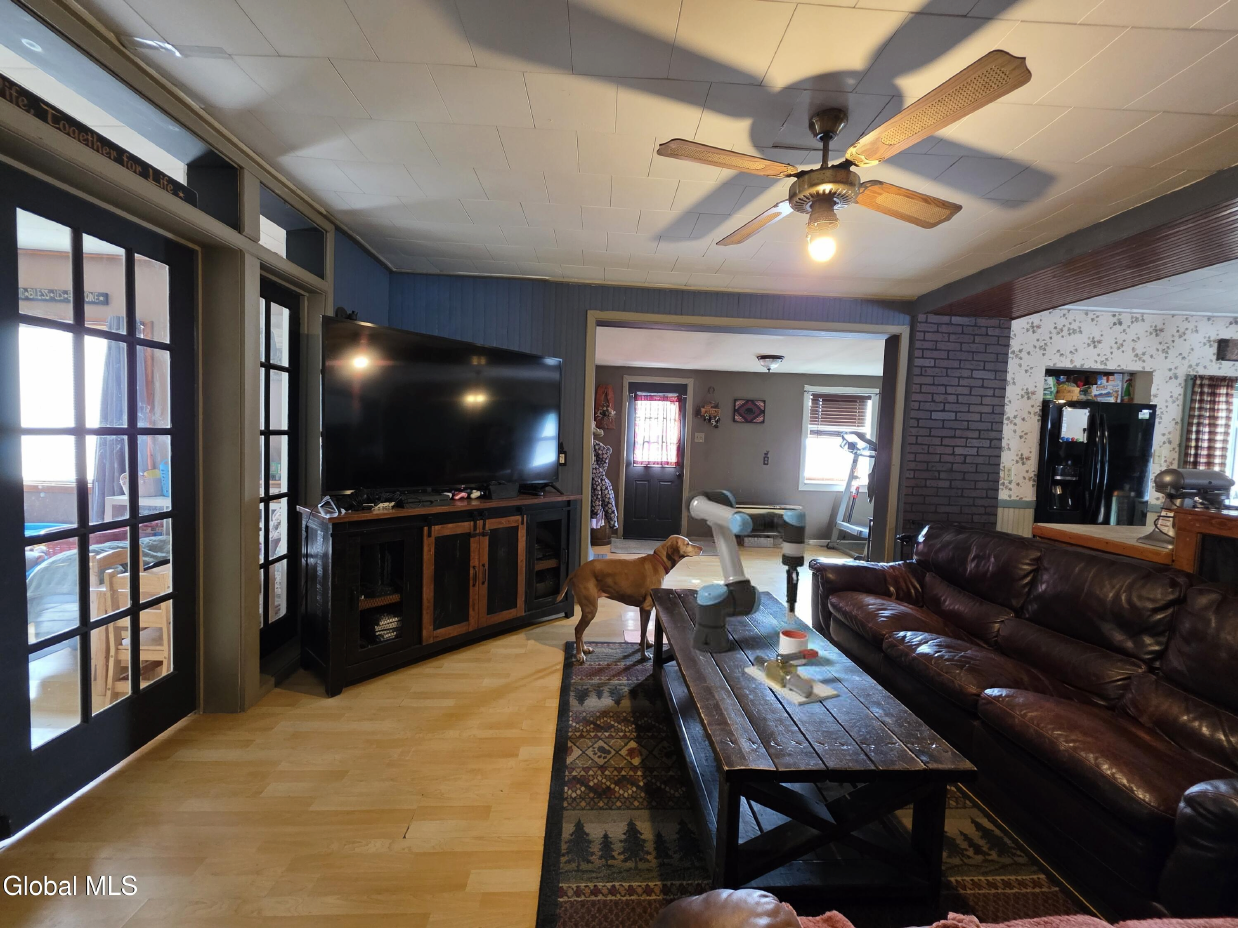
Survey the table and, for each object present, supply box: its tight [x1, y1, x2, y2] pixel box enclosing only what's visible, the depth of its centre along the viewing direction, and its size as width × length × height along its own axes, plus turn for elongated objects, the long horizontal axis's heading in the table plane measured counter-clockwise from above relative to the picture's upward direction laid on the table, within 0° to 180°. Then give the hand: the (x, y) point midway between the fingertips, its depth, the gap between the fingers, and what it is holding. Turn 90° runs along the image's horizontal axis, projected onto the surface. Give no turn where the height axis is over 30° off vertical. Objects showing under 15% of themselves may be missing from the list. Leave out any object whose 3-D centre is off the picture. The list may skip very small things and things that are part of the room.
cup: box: [778, 629, 809, 666], centre depth 197 cm, size 10×10×10 cm
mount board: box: [744, 665, 839, 706], centre depth 179 cm, size 26×17×1 cm, turn 25°
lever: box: [775, 648, 819, 664], centre depth 180 cm, size 16×4×2 cm, turn 115°
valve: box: [752, 654, 813, 698], centre depth 177 cm, size 24×7×7 cm, turn 25°
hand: (790, 620), depth 188 cm, fingers closed
